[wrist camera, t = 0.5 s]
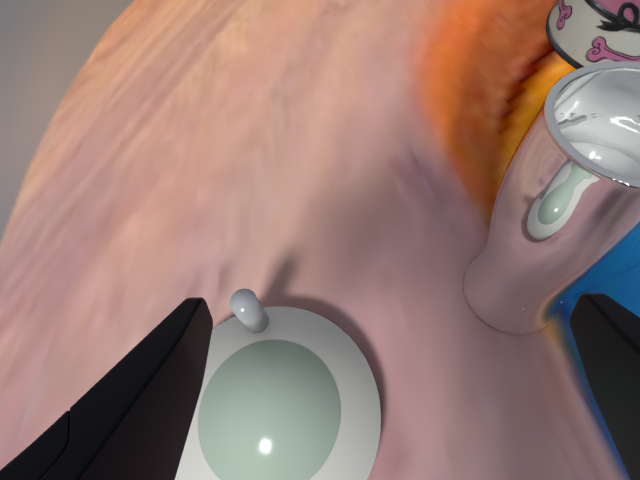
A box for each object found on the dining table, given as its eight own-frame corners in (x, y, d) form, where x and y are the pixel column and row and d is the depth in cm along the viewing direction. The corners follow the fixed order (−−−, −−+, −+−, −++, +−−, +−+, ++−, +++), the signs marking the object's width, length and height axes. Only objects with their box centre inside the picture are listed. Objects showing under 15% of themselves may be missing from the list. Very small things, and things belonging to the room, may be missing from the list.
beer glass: (435, 274, 28) (497, 100, 15) (514, 231, 29) (635, 35, 16) (503, 362, 24) (661, 234, 11) (589, 309, 25) (822, 140, 12)
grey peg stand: (410, 514, 21) (422, 524, 17) (168, 576, 20) (120, 601, 16) (349, 293, 27) (347, 262, 23) (167, 336, 27) (133, 313, 23)
